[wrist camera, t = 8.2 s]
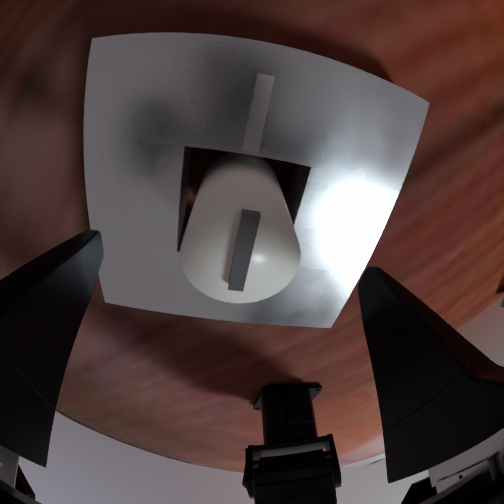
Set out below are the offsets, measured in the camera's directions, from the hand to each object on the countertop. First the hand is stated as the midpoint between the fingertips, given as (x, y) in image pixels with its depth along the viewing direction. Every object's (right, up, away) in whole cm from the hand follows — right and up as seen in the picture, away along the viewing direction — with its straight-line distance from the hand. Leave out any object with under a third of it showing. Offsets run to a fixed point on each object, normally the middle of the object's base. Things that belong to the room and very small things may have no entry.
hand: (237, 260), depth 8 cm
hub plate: (0, +3, +5) cm, 6 cm away
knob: (0, +4, +5) cm, 6 cm away
